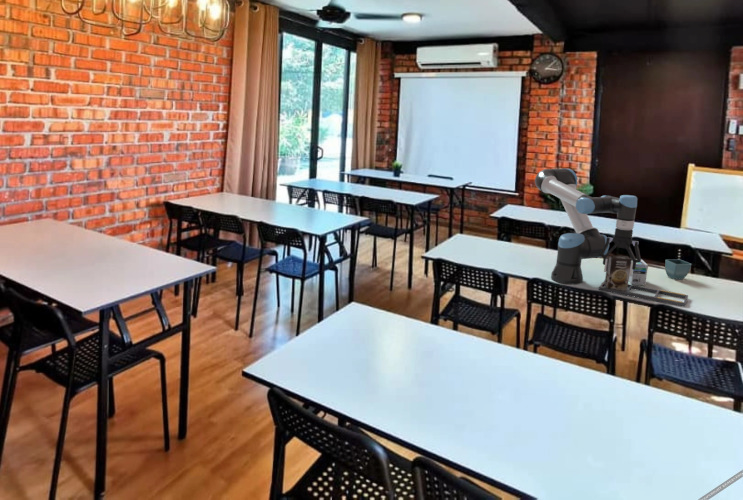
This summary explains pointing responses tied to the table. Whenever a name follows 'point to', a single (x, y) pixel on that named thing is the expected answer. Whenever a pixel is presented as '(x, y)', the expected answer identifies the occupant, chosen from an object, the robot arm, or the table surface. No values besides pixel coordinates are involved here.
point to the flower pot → (677, 268)
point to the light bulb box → (639, 273)
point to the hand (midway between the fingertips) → (617, 273)
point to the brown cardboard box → (618, 272)
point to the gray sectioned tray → (647, 295)
